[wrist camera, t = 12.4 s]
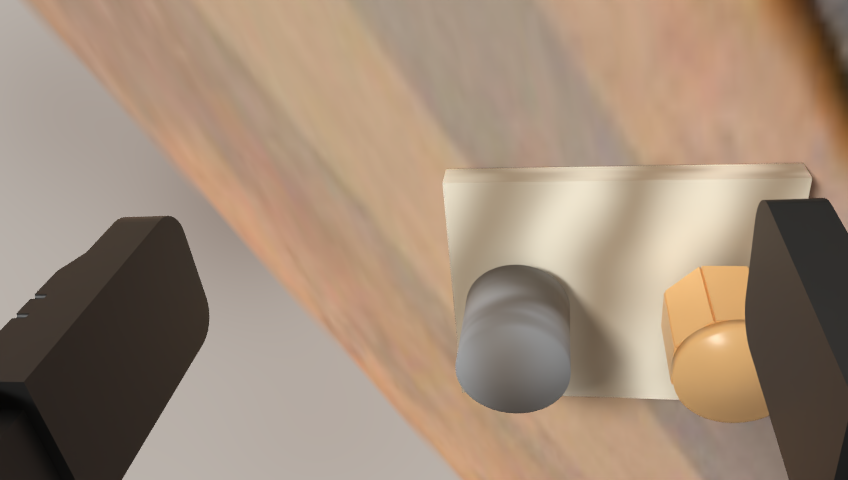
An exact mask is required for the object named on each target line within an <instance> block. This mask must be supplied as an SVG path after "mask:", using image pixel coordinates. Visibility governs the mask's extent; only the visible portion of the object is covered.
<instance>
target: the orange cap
mask: <svg viewBox="0 0 848 480" xmlns="http://www.w3.org/2000/svg"><path fill="white" fill-rule="evenodd" d="M748 274H749V268H748V267H747V266H702V267H701V268H700V267H698V268H696V269H695V270H694V271H692V272H691V273H689V274H688V275H687V276H685V277H684V278H682V279H681V280H680V281H678V282H677V283H675V284H674V285H673V286H671V287H670V288H668V289H667V290H666V291H665V293H664V298H663V309H662V321H661V328H662V334H663V340H664V346H665V352H666V358H667V363H668V369H669V375H670V381H671V384H672V385H674V389H675V392H676V394H677V396H678V398H679V400H680V401H681V402H682V403H683V404H684V405H685V406H686V407H687V408H688V409H689V410H691V411H692V412H694V413H696V414H697V415H699V416H702V417H704V418H707V419H710V420H714V421H719V422H727V423H740V422H749V421H754V420H758V419H762V418H764V417H767V416H770V415H769V412H768V409H767V405H766V402H765V399H764V396H763V392H762V389H761V386H760V382H759V379H758V376H757V372H756V369H755V366H754V363H753V359H752V356H751V353H750V349H749V346H748V341H747V335H746V327H745V299H746V290H747V282H748Z"/></svg>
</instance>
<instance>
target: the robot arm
mask: <svg viewBox="0 0 848 480" xmlns="http://www.w3.org/2000/svg"><path fill="white" fill-rule="evenodd" d="M208 326H209V308H208V302H207V298H206V296H205V292H204V290H203V287H202V284H201V281H200V278H199V275H198V272H197V269H196V266H195V263H194V260H193V257H192V254H191V251H190V248H189V245H188V242H187V239H186V236H185V233H184V231H183V228H182V226H181V224H180V223H179V222H178V221H177V220H176V219H175V218H174V217H171V216H153V217H123V218H120V219H118V220H117V221H116V222H114V223H113V225H112V226H111V227H110V228H109V229H108V230H107V231H106V232H105V233H104V234H103V235H102V236H101V237H100V238H99V240H98V241H97V242H96V243H95V244H94V245H93V246H92V247H91V248H90V249H89V250H88V251H87V252H86V253H85V254H83V255H82V256H80V257H78V258H77V259H75V260H74V261H72V262H71V263H69V264H68V265H66V266H64V267H63V268H61V269H60V270H58V271H57V272H56V273H55V274H54V275H53V276H52V277H51V278H50V279H49V280H48V281H47V283H46V284H44V285H43V286H42V287H41V289H40V290H39V291H38V292H37V293H36V294H35V299H30V300H29V301H28V302H27V303H26V304H25V305H24V306H23V307H22V308H21V309H20V311H19V312H18V313H17V318H14V319H11V320H10V321H9V322H8V323H7V324H6V325H5V326H4V327H3V328H2V330H0V480H122V478H123V477H124V475H125V473H126V472H127V470H128V468H129V466H130V465H131V463H132V462H133V460H134V458H135V456H136V455H137V453H138V451H139V450H140V448H141V446H142V445H143V443H144V442H145V440H146V438H147V437H148V435H149V433H150V431H151V430H152V428H153V427H154V425H155V423H156V422H157V420H158V418H159V417H160V415H161V413H162V411H163V410H164V408H165V406H166V405H167V403H168V401H169V400H170V398H171V396H172V395H173V393H174V391H175V390H176V388H177V386H178V385H179V383H180V381H181V380H182V378H183V376H184V375H185V373H186V371H187V370H188V368H189V366H190V364H191V363H192V361H193V360H194V358H195V356H196V354H197V353H198V351H199V350H200V348H201V346H202V345H203V343H204V341H205V338H206V335H207V332H208ZM745 327H746V335H747V341H748V346H749V349H750V353H751V356H752V359H753V363H754V366H755V369H756V372H757V376H758V379H759V382H760V386H761V389H762V392H763V396H764V399H765V402H766V405H767V409H768V412H769V415H770V419H771V422H772V425H773V428H774V432H775V435H776V438H777V442H778V445H779V448H780V451H781V455H782V458H783V461H784V465H785V468H786V471H787V474H788V478H789V480H848V233H847V231H846V229H845V227H844V226H843V224H842V222H841V220H840V219H839V217H838V215H837V213H836V212H835V210H834V208H833V206H832V205H831V203H830V202H829V200H827V199H825V198H811V199H777V200H762V201H761V202H760V203H759V205H758V208H757V212H756V217H755V225H754V233H753V241H752V249H751V257H750V265H749V274H748V282H747V290H746V299H745Z"/></svg>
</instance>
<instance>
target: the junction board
mask: <svg viewBox="0 0 848 480" xmlns="http://www.w3.org/2000/svg"><path fill="white" fill-rule="evenodd" d="M811 182H812V177H811V175H810V173H809V172H808V170H807V168H806V166H805V165H804V163H783V164H723V165H662V166H602V167H542V168H481V169H446V172H445V176H444V180H443V193H444V204H445V214H446V225H447V236H448V247H449V257H450V268H451V279H452V290H453V300H454V311H455V322H456V333H457V343H458V353H457V359H456V375H457V378H458V381H459V383H460V385H461V386H462V392H466V393H467V394H468V395H469V396H470V397H471V398H473V399H474V400H475V401H477V402H478V403H480V404H482V405H484V406H486V407H488V408H491V409H493V410H497V411H501V412H506V413H528V412H533V411H537V410H540V409H543V408H545V407H548V406H549V405H551V404H553V403H554V402H556V401H557V400H558V399H559V398H560V397H561V396H584V397H613V398H642V399H670V400H679V398H678V396H677V394H676V392H675V389H674V385H672V384H671V381H670V375H669V369H668V363H667V358H666V352H665V346H664V340H663V334H662V328H661V321H662V309H663V298H664V293H665V291H666V290H667V289H668V288H670V287H671V286H673V285H674V284H675V283H677V282H678V281H680V280H681V279H682V278H684V277H685V276H687V275H688V274H689V273H691V272H692V271H694V270H695V269H696V268H698V267H700V268H701V267H702V266H747V267H748V268H749V265H750V257H751V249H752V241H753V233H754V225H755V217H756V212H757V208H758V205H759V203H760V202H761V201H762V200H777V199H808V197H809V192H810V187H811Z"/></svg>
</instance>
